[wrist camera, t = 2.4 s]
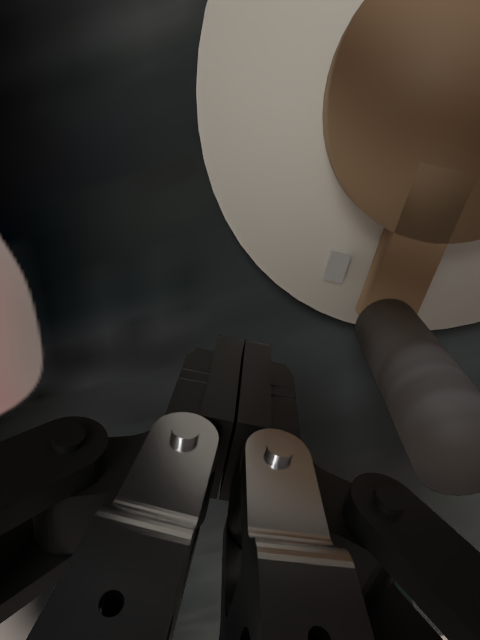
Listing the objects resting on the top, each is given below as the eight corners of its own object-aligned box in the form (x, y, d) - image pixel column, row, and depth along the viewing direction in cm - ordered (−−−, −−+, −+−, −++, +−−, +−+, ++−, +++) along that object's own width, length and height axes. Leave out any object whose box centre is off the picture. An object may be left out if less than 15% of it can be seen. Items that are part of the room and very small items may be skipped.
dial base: (250, -341, 10) (248, -411, 9) (883, -191, 11) (970, -237, 9) (177, 279, 18) (169, 291, 17) (541, 351, 19) (562, 368, 17)
